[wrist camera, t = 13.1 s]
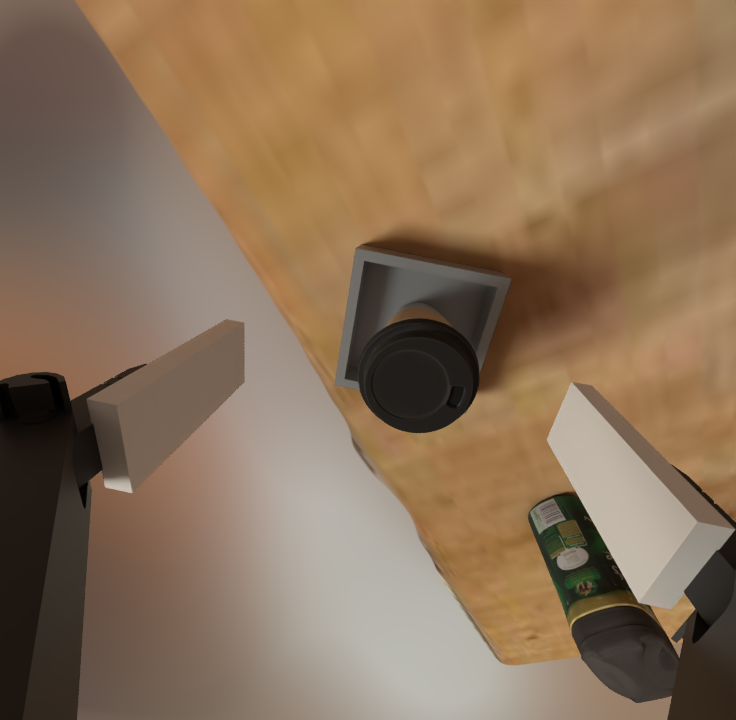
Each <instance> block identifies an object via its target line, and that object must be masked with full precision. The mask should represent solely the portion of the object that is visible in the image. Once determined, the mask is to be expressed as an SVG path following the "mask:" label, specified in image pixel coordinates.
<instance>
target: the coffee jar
mask: <svg viewBox="0 0 736 720" xmlns="http://www.w3.org/2000/svg"><path fill="white" fill-rule="evenodd" d="M528 519H529V523H530V526H531V528H532V531H533V533H534V536H535V538H536V541H537V543H538V546H539V548H540V550H541V553H542V555H543V558H544V560H545V563H546V565H547V568H548V570H549V573H550V575H551V578H552V581H553V583H554V585H555V588H556V591H557V593H558V596H559V598H560V601H561V603H562V606H563V609H564V612H565V615H566V618H567V621H568V624H569V627H570V631H571V633H572V636H573V638H574V640H575V643H576V645H577V647H578V649H579V651H580V654H581V658H582V660H583V661H584V662H585V663H586V664H587V666H588V667H589V668H590V669H591V671H592V672H593V673H594V674H595V675H596V676H597V677H598V679H599V680H600V681H601V682H602V683H603V684H605V685H606V686H607V687H608V688H609V689H611V690H612V691H614V692H616V693H618V694H620V695H622V696H624V697H627V698H629V699H631V700H632V701H634V702H636V703H641V702H646V701H651V700H657V699H661V698H665V697H669V696H672V694H673V689H674V684H675V679H676V674H677V669H678V664H679V659H680V658H679V657H678V655H677V653H676V651H675V649H674V647H673V645H672V643H671V642H670V640H669V638H668V636H667V634H666V633H665V631H664V629H663V628H662V626H661V624H660V623H659V621H658V619H657V618H656V616H655V614H654V612H653V611H652V609H651V607H650V605H647V604H642V603H638V601H637V599H636V597H635V595H634V594H633V592H632V590H631V588H630V587H629V585H628V583H627V581H626V580H625V578H624V576H623V574H622V572H621V571H620V569H619V567H618V565H617V564H616V562H615V560H614V558H613V557H612V555H611V553H610V551H609V549H608V548H607V546H606V544H605V542H604V541H603V539H602V537H601V535H600V534H599V532H598V530H597V528H596V526H595V525H594V523H593V521H592V519H591V518H590V516H589V514H588V512H587V511H586V509H585V507H584V505H583V503H582V502H581V501H580V500H579V499H578V498H576V497H574V496H571V495H560V496H554V497H551V498H548V499H545V500H543V501H541V502H539V503H538V504H537V505H536V506H534V507H533V508H532V509H531V511H530V512H529V515H528Z"/></svg>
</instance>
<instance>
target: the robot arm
mask: <svg viewBox="0 0 736 720" xmlns="http://www.w3.org/2000/svg"><path fill="white" fill-rule="evenodd" d="M243 383H244V322H238V321H232V320H224V321H223V322H221V323H219V324H217V325H216V326H214V327H212V328H210V329H208V330H207V331H205V332H203V333H201V334H200V335H198V336H196V337H194V338H193V339H191V340H189V341H187V342H186V343H184V344H182V345H180V346H179V347H177V348H175V349H173V350H172V351H170V352H168V353H166V354H165V355H163V356H161V357H159V358H158V359H156V360H154V361H152V362H151V363H149V364H143V365H140V366H137V367H133V368H130V369H128V370H126V371H124V372H122V373H120V374H119V375H117V376H115V378H111V379H109V380H108V381H106V382H104V384H100V385H99V386H97V387H95V388H93V389H91V390H89V391H88V392H86V393H84V394H82V395H80V396H79V397H77V398H75V399H73V400H71V401H70V398H69V394H68V389H67V385H66V381H65V378H64V377H63V376H61V375H59V374H56V373H49V372H40V373H39V372H38V373H29V374H21V375H16V376H13V377H10V378H6V379H3V380H1V381H0V720H77V711H78V695H79V680H80V679H79V678H80V663H81V647H82V633H83V616H84V602H85V601H84V600H85V586H86V570H87V555H88V539H89V523H90V507H91V492H92V490H91V486H90V481H89V480H90V479H91V478H93V477H94V476H95V475H96V474H98V473H99V472H100V471H101V470H102V474H103V479H104V483H105V487H106V488H111V489H116V490H120V491H125V492H129V493H133V492H134V491H135V490H136V489H137V488H138V487H139V486H140V485H141V484H142V483H143V482H144V481H145V480H146V479H147V478H148V477H149V476H150V475H151V474H152V473H153V472H154V471H155V470H156V469H157V468H158V467H159V466H160V465H161V464H162V463H163V462H164V461H165V460H166V459H167V458H168V457H169V456H170V455H171V454H172V453H173V452H174V451H175V450H176V449H177V448H178V447H179V446H180V445H181V444H182V443H183V442H184V441H185V440H186V439H187V438H188V437H189V436H190V435H191V434H192V433H193V432H194V431H195V430H196V429H197V428H198V427H199V426H201V424H203V422H205V421H206V420H207V419H208V418H209V417H210V415H211V414H212V413H214V412H215V411H216V410H217V409H218V408H219V407H220V405H222V404H223V403H224V402H225V401H226V400H227V399H228V397H230V396H231V395H232V394H233V393H234V392H235V391H236V389H238V388H239V386H241V385H242V384H243ZM547 442H548V443H549V445H550V447H551V449H552V450H553V452H554V454H555V456H556V457H557V459H558V461H559V463H560V465H561V466H562V468H563V470H564V472H565V473H566V475H567V477H568V479H569V480H570V482H571V484H572V486H573V488H574V489H575V491H576V493H577V495H578V496H579V498H580V500H581V502H582V503H583V505H584V507H585V509H586V511H587V512H588V514H589V516H590V518H591V519H592V521H593V523H594V525H595V526H596V528H597V530H598V532H599V534H600V535H601V537H602V539H603V541H604V542H605V544H606V546H607V548H608V549H609V551H610V553H611V555H612V557H613V558H614V560H615V562H616V564H617V565H618V567H619V569H620V571H621V572H622V574H623V576H624V578H625V580H626V581H627V583H628V585H629V587H630V588H631V590H632V592H633V594H634V595H635V597H636V599H637V601H638V603H642V604H647V605H651V606H656V607H661V608H665V609H670V610H671V609H672V608H673V607H674V606H675V604H676V603H677V602H678V601H679V599H680V598H681V597H682V596H683V594H684V593H685V594H686V596H687V597H688V599H689V600H690V601H691V603H692V604H693V606H694V607H695V611H694V612H693V613H692V614H691V615H690V617H689V618H688V619H687V620H686V621H685V622H684V624H683V625H682V626H681V627H680V628H679V629H678V631H677V632H676V633H675V634H674V636H673V637H672V638H671V639H672V640H673V641H675V642H676V643H677V642H678V641H679V640H680V639H681V638H684V639H683V644H682V649H681V654H680V659H679V664H678V669H677V674H676V679H675V684H674V689H673V694H672V699H671V704H670V709H669V715H668V720H736V522H735V521H733V520H732V519H731V518H730V517H729V516H728V515H727V514H726V513H725V512H724V511H723V510H722V509H721V508H720V507H719V506H718V505H717V504H714V501H713V500H712V499H711V498H710V497H709V496H708V495H707V494H706V493H704V492H702V489H701V488H700V487H699V486H698V485H697V484H696V483H695V482H694V481H693V480H692V479H691V478H690V477H689V476H687V475H686V474H684V473H683V472H681V471H680V470H679V469H677V468H676V467H674V466H673V465H671V464H670V463H669V462H668V461H667V460H666V459H665V458H664V457H663V456H662V455H661V454H660V453H659V452H658V451H657V450H656V449H655V448H654V447H653V446H652V445H651V444H650V443H649V442H648V441H647V440H646V439H645V438H644V437H643V436H642V435H641V434H640V433H639V432H638V431H637V430H636V429H635V428H634V427H633V426H632V425H631V424H630V423H629V422H628V421H627V420H626V419H625V418H624V417H623V416H622V415H621V414H620V413H619V412H618V411H617V410H616V409H615V408H614V407H613V406H612V405H611V404H610V403H609V402H608V401H607V400H606V399H605V398H604V397H603V396H602V395H601V394H600V393H599V392H598V391H597V390H596V389H595V388H594V387H593V386H591V385H586V384H580V383H575V382H571V384H570V387H569V389H568V391H567V394H566V396H565V398H564V401H563V403H562V405H561V408H560V410H559V412H558V415H557V417H556V419H555V422H554V424H553V426H552V429H551V431H550V433H549V436H548V438H547Z"/></svg>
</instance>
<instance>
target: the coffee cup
mask: <svg viewBox="0 0 736 720" xmlns="http://www.w3.org/2000/svg"><path fill="white" fill-rule="evenodd" d="M358 384H359V389H360V392H361V395H362V397H363V400H364V401H365V403H366V405H367V406H368V408H369V409H370V410H371V411H372V412H373V413H374V414H375V415H376V416H377V417H378V418H380V419H381V420H382V421H384V422H385V423H386V424H388V425H390V426H392V427H394V428H396V429H398V430H402V431H405V432H411V433H427V432H432V431H436V430H439V429H442V428H444V427H446V426H448V425H449V424H451V423H452V422H454V421H455V420H456V419H458V418H459V417H460V416H461V415H463V414H464V413H465V412H466V410H467V409H468V408H469V407H470V405H471V404H472V402H473V400H474V398H475V396H476V393H477V390H478V386H479V363H478V359H477V356H476V354H475V351H474V349H473V348H472V346H471V344H470V343H469V342H468V340H467V339H466V338H465V337H464V336H463V335H462V334H461V333H459V332H458V331H457V330H455V329H454V328H453V327H452V326H451V325H450V323H449V322H448V321H447V320H446V319H445V317H443V316H442V315H441V314H440V313H439V312H438V311H437V310H436V309H435V308H434V307H432V306H430V305H428V304H424V303H418V302H415V303H409V304H406V305H404V306H402V307H401V308H399V309H398V310H397V312H396V313H395V314H394V316H393V317H391V319H390V320H389V321H388V323H387V324H386V326H385V327H384V328H383V329H381V330H380V331H379V332H377V333H376V334H375V335H374V336H373V337H372V338H371V339H370V340H369V342H368V343H367V344H366V346H365V348H364V349H363V351H362V354H361V356H360V359H359V363H358Z"/></svg>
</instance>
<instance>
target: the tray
mask: <svg viewBox="0 0 736 720" xmlns="http://www.w3.org/2000/svg"><path fill="white" fill-rule="evenodd" d="M511 280H512V279H511V278H509V277H508V276H506V275H505V274H503V273H502V272H499V271H494V270H489V269H484V268H479V267H474V266H469V265H464V264H459V263H454V262H449V261H444V260H439V259H433V258H428V257H423V256H418V255H413V254H408V253H403V252H398V251H393V250H388V249H383V248H378V247H373V246H368V245H363V244H362V245H360V246H359V247H357V248H356V250H355V256H354V263H353V269H352V275H351V282H350V288H349V295H348V301H347V308H346V314H345V320H344V327H343V333H342V340H341V346H340V353H339V359H338V366H337V372H336V378H335V385H337V386H341V387H346V388H351V389H355V390H360V389H359V384H358V363H359V359H360V356H361V354H362V351H363V349H364V348H365V346H366V344H367V343H368V342H369V340H370V339H371V338H372V337H373V336H374V335H375V334H376V333H377V332H379V331H380V330H381V329H383V328H384V327H385V326H386V324H387V323H388V321H389V320H390V319H391V317H393V316H394V314H395V313H396V312H397V310H398V309H399V308H401V307H402V306H404V305H406V304H409V303H415V302H418V303H424V304H428V305H430V306H432V307H434V308H435V309H436V310H437V311H438V312H439V313H440V314H441V315H442V316H443V317H445V319H446V320H447V321H448V322H449V323H450V325H451V326H452V327H453V328H454V329H455V330H457V331H458V332H459V333H461V334H462V335H463V336H464V337H465V338H466V339H467V340H468V342H469V343H470V344H471V346H472V348H473V349H474V351H475V354H476V356H477V359H478V363H479V374H480V371H481V368H482V365H483V362H484V359H485V356H486V353H487V350H488V347H489V344H490V342H491V339H492V336H493V333H494V330H495V327H496V324H497V321H498V318H499V315H500V312H501V309H502V306H503V303H504V300H505V298H506V295H507V292H508V289H509V286H510V283H511ZM466 412H467V410H466ZM466 412H465V413H466Z"/></svg>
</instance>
